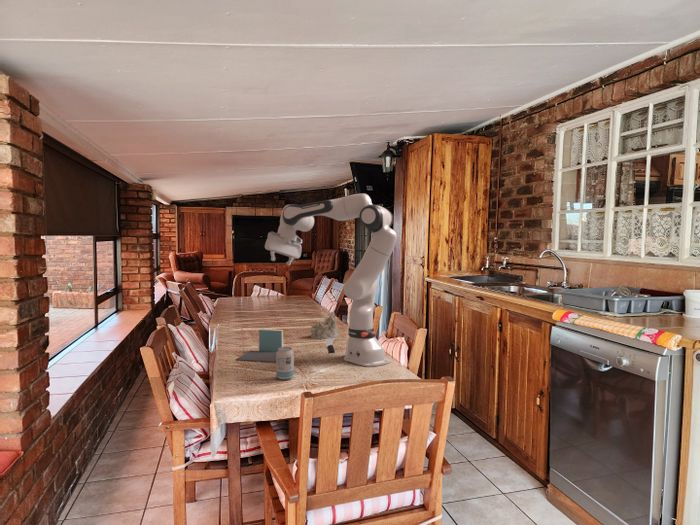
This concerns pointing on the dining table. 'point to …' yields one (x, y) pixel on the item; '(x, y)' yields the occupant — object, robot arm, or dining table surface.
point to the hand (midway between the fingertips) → (280, 263)
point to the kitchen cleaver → (330, 344)
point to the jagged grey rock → (325, 328)
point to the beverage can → (284, 363)
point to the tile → (270, 340)
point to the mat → (259, 356)
